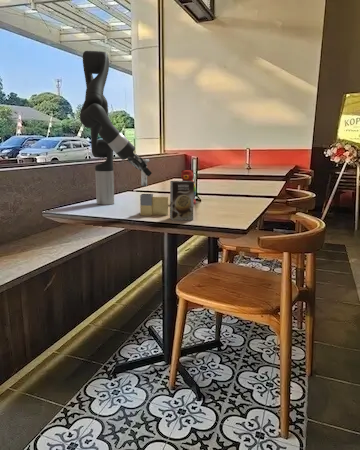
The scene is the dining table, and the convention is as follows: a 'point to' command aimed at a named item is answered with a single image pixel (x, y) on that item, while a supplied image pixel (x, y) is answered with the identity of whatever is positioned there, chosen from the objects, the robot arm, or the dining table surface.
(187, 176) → the stacking bear
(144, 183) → the pin
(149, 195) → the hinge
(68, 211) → the dining table surface
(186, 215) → the coffee box
